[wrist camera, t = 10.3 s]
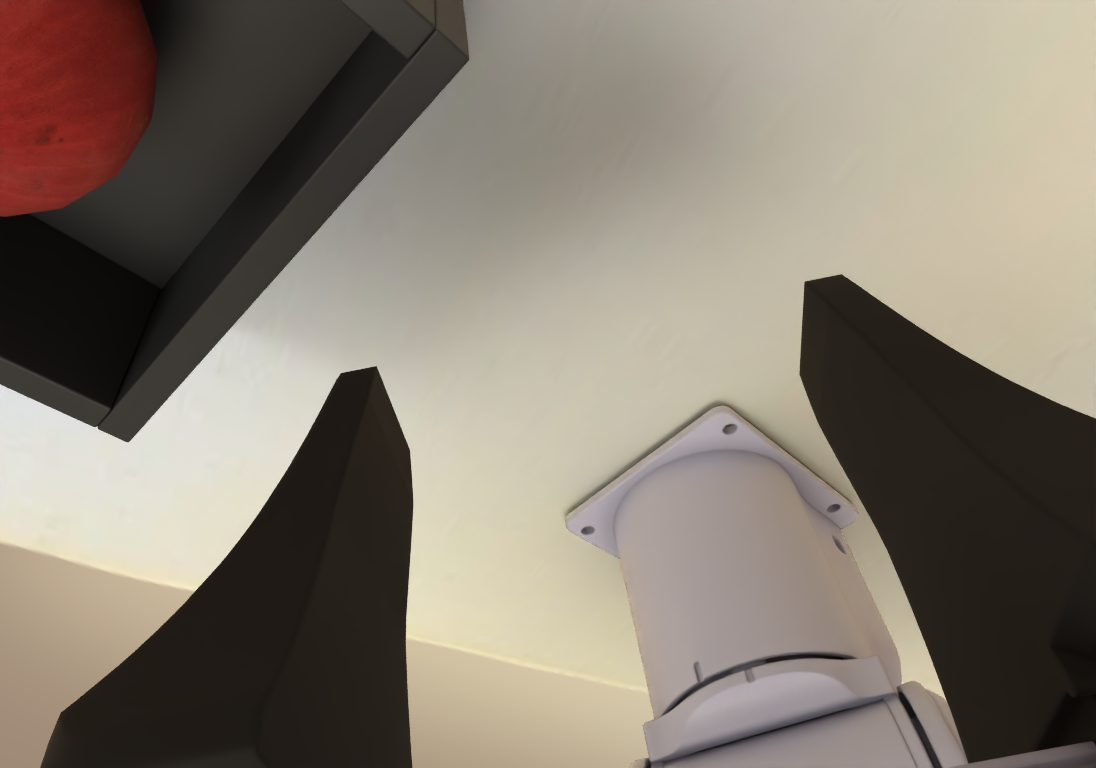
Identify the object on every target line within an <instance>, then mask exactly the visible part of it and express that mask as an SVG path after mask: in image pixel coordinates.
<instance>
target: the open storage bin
mask: <svg viewBox="0 0 1096 768" xmlns="http://www.w3.org/2000/svg"><path fill="white" fill-rule="evenodd" d="M140 2H141V5H142V8H143V11H144V14H145V17H146V20H147V23H148V26H149V29H150V32H151V35H152V38H153V41H154V44H155V47H156V50H157V53H158V55H157V70H156V84H155V99H154V106H153V112H152V118H151V122H150V124H149V125H148V127H147V129H146V130H145V132H144V134H143V135H142V137H141V139H140V140H139V142H138V144H137V145H136V147H135V149H134V150H133V152H132V154H131V155H130V157H129V159H128V160H127V162H126V163H125V165H124V166H123V167H122V169H121V170H120V172H119V173H118V175H117V176H115V177H113V178H112V179H110V180H108V181H107V182H105V183H103V184H102V185H100V186H99V187H97V188H95V189H94V190H92V191H90V192H89V193H87V194H85V195H84V196H82V197H80V198H79V199H77V200H75V201H74V202H72V203H70V204H69V205H67V206H65V207H64V208H61V209H55V210H48V211H41V212H35V213H28V214H21V215H15V216H8V217H2V216H0V384H1V385H3V386H5V387H7V388H10V389H12V390H14V391H16V392H18V393H20V394H23V395H25V396H27V397H29V398H31V399H34V400H36V401H38V402H40V403H42V404H45V405H47V406H49V407H51V408H53V409H56V410H58V411H60V412H62V413H64V414H67V415H69V416H71V417H73V418H75V419H77V420H80V421H82V422H84V423H86V424H88V425H91V426H93V427H97V426H98V429H99V430H101V431H103V432H106V433H108V434H110V435H112V436H114V437H117V438H119V439H121V440H123V441H125V442H129V441H131V439H132V438H133V437H134V436H135V435H136V434H137V433H138V432H139V430H140V429H141V428H142V427H143V426H144V425H145V424H146V423H147V421H148V420H149V419H150V418H151V417H152V416H153V415H154V414H155V412H156V411H157V410H158V409H159V408H160V407H161V406H162V405H163V403H164V402H165V401H166V400H167V399H168V398H169V397H170V396H171V394H172V393H173V392H174V391H175V390H176V389H177V388H178V387H179V385H180V384H181V383H182V382H183V381H184V380H185V379H186V378H187V376H188V375H189V374H190V373H191V372H192V371H193V370H194V369H195V368H196V366H197V365H198V364H199V363H200V362H201V361H202V360H203V359H204V357H205V356H206V355H207V354H208V353H209V352H210V351H211V350H212V348H213V347H214V346H215V345H216V344H217V343H218V342H219V341H220V339H221V338H222V337H223V336H224V335H225V334H226V333H227V332H228V330H229V329H230V328H231V327H232V326H233V325H234V324H235V323H236V321H237V320H238V319H239V318H240V317H241V316H242V315H243V314H244V312H245V311H246V310H247V309H248V308H249V307H250V306H251V305H252V303H253V302H254V301H255V300H256V299H257V298H258V297H259V296H260V294H261V293H262V292H263V291H264V290H265V289H266V288H267V287H268V285H269V284H270V283H271V282H272V281H273V280H274V279H275V278H276V276H277V275H278V274H279V273H280V272H281V271H282V270H283V269H284V267H285V266H286V265H287V264H288V263H289V262H290V261H291V260H292V259H293V257H294V256H295V255H296V254H297V253H298V252H299V251H300V250H301V248H302V247H303V246H304V245H305V244H306V243H307V242H308V241H309V239H310V238H311V237H312V236H313V235H314V234H315V233H316V232H317V230H318V229H319V228H320V227H321V226H322V225H323V224H324V223H325V221H326V220H327V219H328V218H329V217H330V216H331V215H332V214H333V212H334V211H335V210H336V209H337V208H338V207H339V206H340V205H341V203H342V202H343V201H344V200H345V199H346V198H347V197H348V196H349V194H350V193H351V192H352V191H353V190H354V189H355V188H356V187H357V185H358V184H359V183H360V182H361V181H362V180H363V179H364V178H365V176H366V175H367V174H368V173H369V172H370V171H371V170H372V169H373V167H374V166H375V165H376V164H377V163H378V162H379V161H380V160H381V159H382V157H383V156H384V155H385V154H386V153H387V152H388V151H389V150H390V148H391V147H392V146H393V145H394V144H395V143H396V142H397V141H398V139H399V138H400V137H401V136H402V135H403V134H404V133H405V132H406V130H407V129H408V128H409V127H410V126H411V125H412V124H413V123H414V121H415V120H416V119H417V118H418V117H419V116H420V115H421V114H422V112H423V111H424V110H425V109H426V108H427V107H428V106H429V105H430V103H431V102H432V101H433V100H434V99H435V98H436V97H437V96H438V94H439V93H440V92H441V91H442V90H443V89H444V88H445V87H446V85H447V84H448V83H449V82H450V81H451V80H452V79H453V78H454V76H455V75H456V74H457V73H458V72H459V71H460V70H461V69H462V67H463V66H464V65H465V64H466V63H467V62H468V61H469V50H468V41H467V32H466V23H465V14H464V5H463V0H140Z"/></svg>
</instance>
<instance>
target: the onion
mask: <svg viewBox="0 0 1096 768" xmlns="http://www.w3.org/2000/svg"><path fill="white" fill-rule="evenodd" d="M157 55H158V53H157V50H156V47H155V44H154V41H153V38H152V35H151V32H150V29H149V26H148V23H147V20H146V17H145V14H144V11H143V8H142V5H141V2H140V0H0V216H2V217H8V216H15V215H21V214H28V213H35V212H41V211H48V210H55V209H61V208H64V207H65V206H67V205H69V204H70V203H72V202H74V201H75V200H77V199H79V198H80V197H82V196H84V195H85V194H87V193H89V192H90V191H92V190H94V189H95V188H97V187H99V186H100V185H102V184H103V183H105V182H107V181H108V180H110V179H112V178H113V177H115V176H117V175H118V173H119V172H120V170H121V169H122V167H123V166H124V165H125V163H126V162H127V160H128V159H129V157H130V155H131V154H132V152H133V150H134V149H135V147H136V145H137V144H138V142H139V140H140V139H141V137H142V135H143V134H144V132H145V130H146V129H147V127H148V125H149V124H150V122H151V118H152V112H153V106H154V99H155V84H156V70H157Z"/></svg>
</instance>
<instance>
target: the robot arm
mask: <svg viewBox="0 0 1096 768" xmlns="http://www.w3.org/2000/svg"><path fill="white" fill-rule="evenodd" d="M800 377H801V380H802V382H803V385H804V388H805V390H806V393H807V396H808V398H809V401H810V404H811V406H812V409H813V411H814V414H815V416H816V419H817V421H818V424H819V426H820V428H821V429H822V431H823V433H824V435H825V437H826V439H827V441H828V442H829V444H830V446H831V448H832V450H833V452H834V453H835V455H836V457H837V459H838V461H839V462H840V464H841V466H842V468H843V470H844V471H845V473H846V475H847V477H848V479H849V480H850V482H851V484H852V486H853V487H854V489H855V491H856V493H857V495H858V496H859V498H860V500H861V502H862V504H863V505H864V507H865V509H866V511H867V512H868V514H869V516H870V518H871V520H872V521H873V523H874V525H875V527H876V529H877V531H878V533H879V535H880V537H881V539H882V541H883V543H884V545H885V547H886V549H887V551H888V553H889V555H890V558H891V560H892V562H893V565H894V567H895V570H896V572H897V574H898V577H899V579H900V581H901V584H902V586H903V589H904V591H905V593H906V596H907V598H908V601H909V603H910V606H911V608H912V611H913V613H914V616H915V618H916V621H917V623H918V626H919V628H920V631H921V633H922V636H923V638H924V641H925V644H926V646H927V649H928V651H929V654H930V656H931V659H932V662H933V665H934V667H935V670H936V673H937V676H938V678H939V681H940V684H941V686H942V689H943V692H944V695H945V697H946V700H947V702H946V700H945V699H944V698H942V697H941V696H939V695H937V694H935V693H933V692H932V691H930V690H927V689H925V688H924V687H923V686H922V685H921V684H920V683H918V682H916V681H910V682H907V683H905V684H902V685H901V682H902V676H901V664H900V659H899V655H898V652H897V649H896V646H895V644H894V642H893V640H892V637H891V635H890V633H889V631H888V629H887V627H886V625H885V623H884V621H883V619H882V616H881V614H880V612H879V610H878V608H877V606H876V604H875V602H874V600H873V597H872V595H871V593H870V591H869V589H868V587H867V585H866V583H865V581H864V579H863V576H862V574H861V572H860V570H859V568H858V566H857V564H856V562H855V560H854V557H853V555H852V553H851V551H850V549H849V547H848V545H847V543H846V541H845V539H844V536H843V534H842V532H841V529H843V528H844V527H846V526H848V525H849V524H851V523H853V522H854V521H855V520H856V519H857V517H858V511H857V509H856V507H855V506H854V505H853V504H852V503H851V502H849V501H848V500H847V499H845V498H844V497H843V496H842V495H840V494H839V493H838V492H837V491H835V490H834V489H833V488H831V487H830V486H829V485H828V484H826V483H825V482H824V481H823V480H821V479H820V478H819V477H817V476H816V475H815V474H814V473H812V472H811V471H810V470H808V469H807V468H806V467H805V466H803V465H802V464H801V463H800V462H798V461H797V460H796V459H794V458H793V457H792V456H791V455H789V454H788V453H787V452H785V451H784V450H783V449H782V448H780V447H779V446H778V445H777V444H775V443H774V442H773V441H771V440H770V439H769V438H768V437H766V436H765V435H764V434H763V433H761V432H760V431H759V430H757V429H756V428H755V427H754V426H752V425H751V424H750V423H748V422H747V421H746V420H745V419H743V418H742V417H741V416H740V415H738V414H737V413H736V412H734V411H733V410H732V409H731V408H729V407H727V406H717V407H714V408H712V409H711V410H709V411H708V412H707V413H705V414H704V415H702V416H701V417H700V418H698V419H697V420H696V421H694V422H693V423H692V424H690V425H689V426H687V427H686V428H685V429H683V430H682V431H681V432H679V433H678V434H677V435H675V436H674V437H672V438H671V439H670V440H668V441H667V442H666V443H664V444H663V445H662V446H660V447H659V448H658V449H656V450H655V451H653V452H652V453H651V454H649V455H648V456H647V457H645V458H644V459H643V460H641V461H640V462H638V463H637V464H636V465H634V466H633V467H632V468H630V469H629V470H628V471H626V472H625V473H623V474H622V475H621V476H619V477H618V478H617V479H615V480H614V481H613V482H611V483H610V484H609V485H607V486H606V487H604V488H603V489H602V490H600V491H599V492H598V493H596V494H595V495H594V496H592V497H591V498H589V499H588V500H587V501H585V502H584V503H583V504H581V505H580V506H579V507H577V508H576V509H575V510H573V511H572V512H570V513H569V514H568V515H567V516H566V519H565V522H566V527H567V529H568V530H569V531H570V532H572V533H574V534H575V535H577V536H579V537H581V538H583V539H584V540H586V541H588V542H590V543H592V544H593V545H595V546H597V547H599V548H601V549H602V550H604V551H606V552H608V553H609V554H611V555H613V556H615V557H617V558H618V559H620V561H621V566H622V571H623V575H624V580H625V585H626V589H627V594H628V598H629V603H630V608H631V612H632V617H633V622H634V626H635V631H636V635H637V640H638V645H639V649H640V654H641V659H642V663H643V668H644V672H645V677H646V682H647V686H648V691H649V696H650V700H651V705H652V709H653V714H654V720H651V721H648V722H646V723H644V724H643V730H644V735H645V740H646V745H647V750H648V754H649V758H645V759H640V760H636V761H634V762H633V763H632V764H630V766H629V768H1096V418H1093V417H1090V416H1088V415H1085V414H1083V413H1080V412H1077V411H1075V410H1073V409H1070V408H1068V407H1066V406H1063V405H1061V404H1059V403H1056V402H1054V401H1052V400H1050V399H1048V398H1046V397H1043V396H1041V395H1039V394H1037V393H1035V392H1033V391H1031V390H1029V389H1026V388H1024V387H1022V386H1020V385H1018V384H1016V383H1014V382H1012V381H1010V380H1008V379H1006V378H1004V377H1002V376H1000V375H998V374H996V373H995V372H993V371H991V370H989V369H987V368H986V367H984V366H982V365H980V364H979V363H977V362H975V361H973V360H971V359H970V358H968V357H966V356H964V355H963V354H961V353H959V352H958V351H956V350H954V349H953V348H951V347H949V346H948V345H946V344H944V343H943V342H941V341H940V340H938V339H936V338H935V337H933V336H932V335H930V334H928V333H927V332H925V331H924V330H922V329H921V328H919V327H918V326H916V325H915V324H913V323H912V322H910V321H909V320H907V319H906V318H904V317H903V316H901V315H900V314H898V313H897V312H895V311H894V310H892V309H891V308H890V307H888V306H887V305H885V304H884V303H882V302H881V301H879V300H878V299H877V298H875V297H874V296H872V295H871V294H869V293H868V292H867V291H865V290H864V289H862V288H861V287H859V286H858V285H857V284H855V283H854V282H852V281H851V280H849V279H848V278H846V277H845V276H843V275H842V274H841V275H836V276H831V277H826V278H821V279H816V280H811V281H806V282H805V284H804V302H803V320H802V339H801V357H800ZM728 424H732V425H730V426H728V427H725V426H726V425H728ZM412 519H413V488H412V473H411V459H410V449H409V447H408V444H407V442H406V439H405V437H404V434H403V432H402V429H401V427H400V424H399V422H398V419H397V417H396V414H395V412H394V409H393V407H392V404H391V401H390V399H389V396H388V394H387V391H386V389H385V386H384V384H383V381H382V379H381V376H380V374H379V371H378V369H377V366H375V367H370V368H365V369H360V370H355V371H350V372H345V373H341V374H340V376H339V377H338V378H337V380H336V382H335V384H334V386H333V388H332V389H331V391H330V393H329V395H328V397H327V399H326V401H325V403H324V405H323V407H322V409H321V411H320V412H319V414H318V416H317V418H316V420H315V422H314V424H313V425H312V427H311V429H310V431H309V433H308V435H307V437H306V438H305V440H304V442H303V443H302V445H301V447H300V449H299V450H298V452H297V454H296V456H295V457H294V459H293V461H292V462H291V464H290V466H289V468H288V469H287V471H286V473H285V474H284V476H283V477H282V479H281V480H280V482H279V484H278V485H277V487H276V488H275V490H274V491H273V493H272V494H271V496H270V497H269V499H268V500H267V502H266V503H265V505H264V507H263V508H262V510H261V511H260V512H259V514H258V515H257V517H256V518H255V520H254V521H253V522H252V524H251V525H250V527H249V528H248V529H247V531H246V532H245V533H244V535H243V536H242V537H241V539H240V540H239V541H238V542H237V544H236V545H235V546H234V548H233V549H232V550H231V551H230V553H229V554H228V555H227V556H226V558H225V559H224V560H223V561H222V562H221V564H220V565H219V566H218V567H217V568H216V569H215V570H214V571H213V572H212V574H211V575H210V576H209V577H208V578H207V579H206V580H205V581H204V582H203V583H202V585H201V586H200V587H199V588H198V589H197V590H196V591H195V592H194V593H193V594H192V596H191V597H190V598H189V599H188V600H187V601H186V602H185V604H183V606H181V607H180V608H179V609H178V611H177V612H176V613H175V614H174V615H172V616H171V617H170V619H168V621H166V623H164V624H163V625H162V626H161V627H160V628H159V629H158V630H157V631H156V632H155V633H154V634H153V635H152V636H151V637H150V638H149V639H148V640H146V641H145V642H144V643H143V644H142V645H141V646H140V647H139V648H138V649H137V650H136V651H135V652H134V653H132V654H131V655H130V656H129V657H128V658H127V659H126V660H125V661H123V662H122V663H121V664H120V665H119V666H118V667H116V668H115V669H114V670H113V671H112V672H110V673H109V674H108V675H107V676H105V677H104V678H103V679H102V680H101V681H100V682H98V683H97V684H96V685H95V686H94V687H92V688H91V689H90V690H89V691H87V692H86V693H85V694H84V695H83V696H81V697H80V698H79V699H78V700H77V701H75V702H74V703H73V704H71V705H70V706H69V707H68V708H66V709H65V710H64V711H63V712H61V714H60V716H59V719H58V721H57V723H56V726H55V728H54V731H53V733H52V736H51V738H50V741H49V743H48V746H47V749H46V752H45V756H44V758H43V761H42V764H41V768H412V759H411V743H410V727H409V709H408V689H407V665H406V612H407V597H408V581H409V567H410V552H411V536H412ZM587 526H589V527H587Z"/></svg>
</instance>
